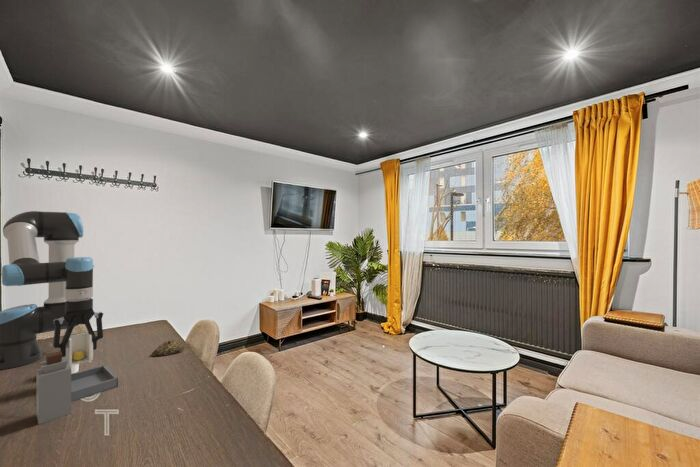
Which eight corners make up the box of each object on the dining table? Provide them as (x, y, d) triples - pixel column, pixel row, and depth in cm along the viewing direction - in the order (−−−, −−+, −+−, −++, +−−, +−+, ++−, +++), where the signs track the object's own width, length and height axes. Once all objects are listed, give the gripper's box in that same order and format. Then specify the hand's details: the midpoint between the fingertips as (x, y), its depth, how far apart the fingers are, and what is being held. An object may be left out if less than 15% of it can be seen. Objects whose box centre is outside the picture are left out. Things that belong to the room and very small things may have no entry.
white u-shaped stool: (66, 363, 109) (66, 336, 109) (87, 358, 113) (88, 332, 113) (69, 368, 105) (69, 339, 105) (91, 362, 110) (91, 335, 110)
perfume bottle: (67, 405, 93) (67, 348, 93) (71, 413, 89) (71, 353, 89) (36, 415, 88) (36, 354, 88) (38, 424, 84) (38, 360, 84)
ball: (71, 361, 109) (71, 352, 110) (83, 359, 111) (83, 350, 112) (73, 361, 107) (73, 352, 108) (85, 358, 110) (85, 349, 110)
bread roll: (182, 354, 134) (182, 343, 134) (150, 358, 130) (150, 347, 130) (186, 344, 146) (186, 334, 146) (157, 348, 142) (157, 337, 142)
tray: (48, 388, 104) (48, 380, 104) (104, 372, 116) (104, 364, 116) (56, 406, 93) (56, 396, 93) (118, 386, 105) (118, 378, 105)
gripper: (43, 305, 99) (43, 374, 99) (114, 296, 114) (113, 356, 114) (41, 302, 104) (40, 368, 104) (109, 293, 119) (108, 351, 119)
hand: (78, 361), depth 109 cm, fingers closed on white u-shaped stool, 6 cm apart
